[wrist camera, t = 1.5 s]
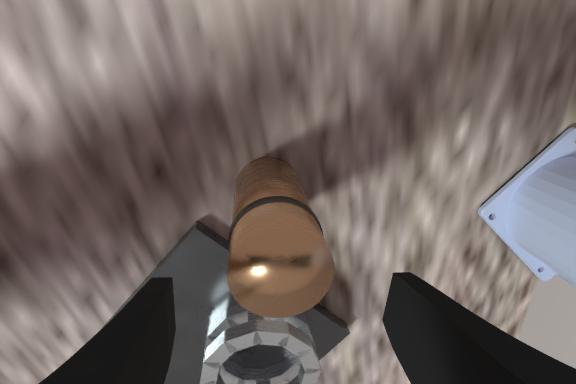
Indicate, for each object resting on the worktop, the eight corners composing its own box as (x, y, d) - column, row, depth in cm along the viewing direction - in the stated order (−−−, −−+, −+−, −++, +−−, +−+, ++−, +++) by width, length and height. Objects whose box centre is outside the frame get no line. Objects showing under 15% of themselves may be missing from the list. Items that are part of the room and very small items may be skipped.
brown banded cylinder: (314, 184, 21) (358, 267, 12) (270, 229, 22) (285, 335, 13) (264, 142, 19) (277, 203, 11) (220, 192, 20) (201, 284, 12)
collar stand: (346, 323, 25) (363, 367, 22) (238, 419, 28) (237, 473, 24) (197, 220, 21) (186, 255, 17) (85, 347, 23) (54, 401, 20)
